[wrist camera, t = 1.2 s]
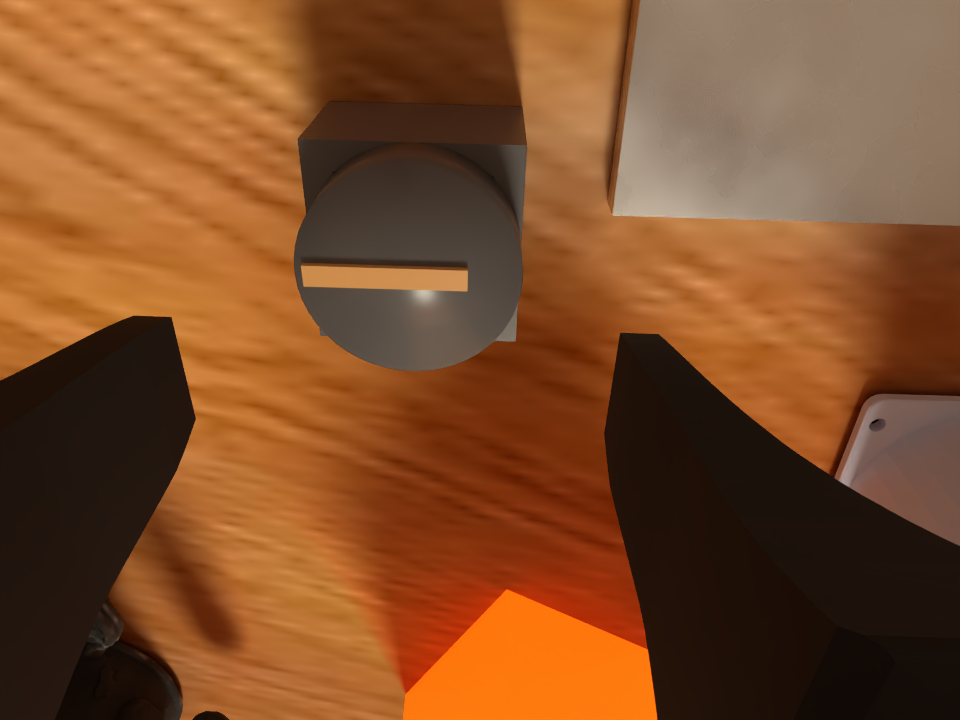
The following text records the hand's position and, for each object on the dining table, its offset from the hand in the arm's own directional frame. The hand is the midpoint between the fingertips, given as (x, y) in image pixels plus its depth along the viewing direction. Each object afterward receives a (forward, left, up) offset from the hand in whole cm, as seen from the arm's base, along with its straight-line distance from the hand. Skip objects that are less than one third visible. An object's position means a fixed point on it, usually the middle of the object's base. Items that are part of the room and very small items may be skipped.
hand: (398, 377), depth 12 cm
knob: (0, 0, -9) cm, 9 cm away
